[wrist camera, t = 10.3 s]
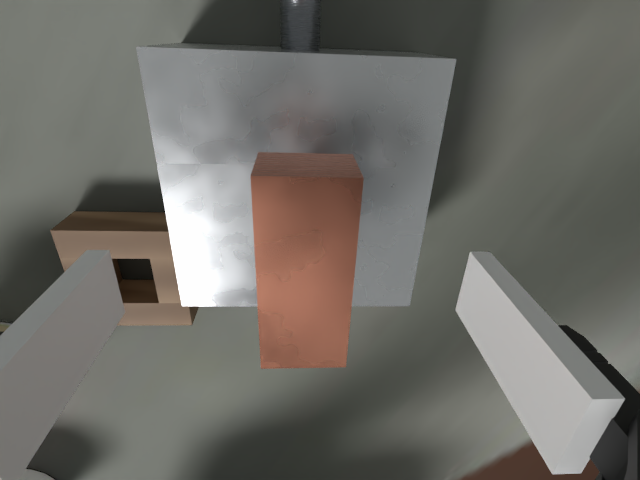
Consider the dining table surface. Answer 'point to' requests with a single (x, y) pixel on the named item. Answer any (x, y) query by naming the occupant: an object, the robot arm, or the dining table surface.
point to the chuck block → (292, 148)
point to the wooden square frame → (130, 243)
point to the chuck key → (305, 255)
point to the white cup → (34, 475)
